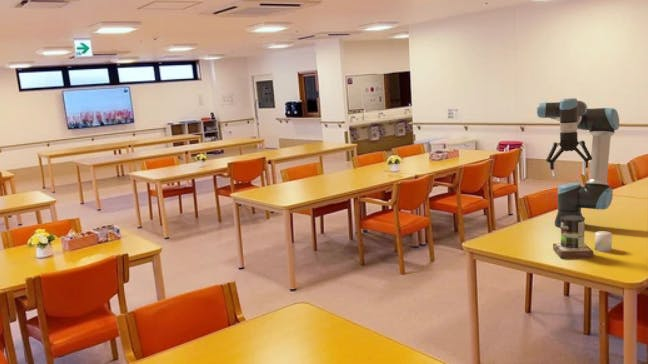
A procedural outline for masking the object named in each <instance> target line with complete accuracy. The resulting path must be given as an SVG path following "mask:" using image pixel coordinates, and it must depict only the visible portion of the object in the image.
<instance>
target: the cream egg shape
mask: <svg viewBox="0 0 648 364" xmlns="http://www.w3.org/2000/svg"><path fill="white" fill-rule="evenodd" d="M612 237H613V234H612V231H611V232H610V231H605V230H604V231H603V230H600V231H595V232H594V250H595V251H597V252H604V253H609V252H611V251H612V250H613V248H612V247H613V239H612Z"/></svg>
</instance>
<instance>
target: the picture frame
mask: <svg viewBox="0 0 648 364" xmlns="http://www.w3.org/2000/svg"><path fill="white" fill-rule="evenodd" d="M552 250H553V251H554V252H555V254H556V255H557V256H558V257H559V258H560V260H561V259H594V250H593V249H591V247H590V246H588V245H587V244H586V243H585V242H584V248H583V249H580V250H569V249H564V248H562V247H561V242H559V243H552Z"/></svg>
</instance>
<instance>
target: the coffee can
mask: <svg viewBox="0 0 648 364" xmlns="http://www.w3.org/2000/svg"><path fill="white" fill-rule="evenodd" d="M560 219H561V227H560V243H561V247H562V248H564V249H569V250H580V249H583V248H584V243H585V226H584V222H585V219H586V217H584V216H583V215H582V216H578V215H565V216H561V217H560Z"/></svg>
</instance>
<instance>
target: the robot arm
mask: <svg viewBox="0 0 648 364" xmlns="http://www.w3.org/2000/svg"><path fill="white" fill-rule="evenodd" d="M536 114H537V117H538V118H540V119H551V120H555V121H558V122H559V131H560V133H559V142H556V141H555V142H553V143H552V148H551V149H550V151H549V153H548V155H547V157H546V159H545V162H547V163H549V166H550V167H549V168H550V171H551V170H552V177H554V178H555V177H556V170H557V169H556V160H558V158H559V157H560V156H561V155H562V153H564V152H574V151H575V152H576V153H577V154H578V155H579V157H580V158H581V159H582V162H581V163H582V164H581V165H582V167H581V168H582V171H581V173H582V175H583V176H586V175H587V173H586V171H587V170H586V169H588V168H589V175H588V180H587V181H586V182H584V183H585V185H584V186H582V184H581V183H580V182H572V183H571V182H570V183H566V184H564V183H563V184H561V185H559V186H558V188H557V214H556V216H555V219H554V226H555V227H557V228H561V219H560V217H561V216H565V215H578V216H583V214H582V209H591V210H598V211H599V210H601V211H603V210H606V209H609V207H610V206H611V203H612V201H613V195H614V193H613V192H614V191H613V189H612V188H611V187H610V183H609V182H608V180H607V179H608V169H609V160H610V159H609V157H610V148H611V146H610V145H611V139H612V138H611V137H613V136H614V135H615V131H618V130H619V129H620V116H619V113H618V111H617V109H616V108H612V107H599V108H588V105H587V104H586V103H585V102H584V101H582V100H578V99H577V98H575V97H573V98H571V97H569V98H561V99H560V101H556V102H541V103H539V104H538V105H537V107H536ZM578 130H582V131H589V134H591V136H592V143H591V151H589V150H588V148H587V146H586V141H584V140H579V141H578ZM578 145H579V146H580V147H581V148H582V150H583V152H584V153H582V152H581V151H580V149H579V148H578ZM558 147H560V148H559V149H558V151H557V152H556V153H555V151H556V150H557V148H558ZM584 154H585V155H584ZM589 161H590V164H589ZM585 224H586V223H585V221H584V227H585Z"/></svg>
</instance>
